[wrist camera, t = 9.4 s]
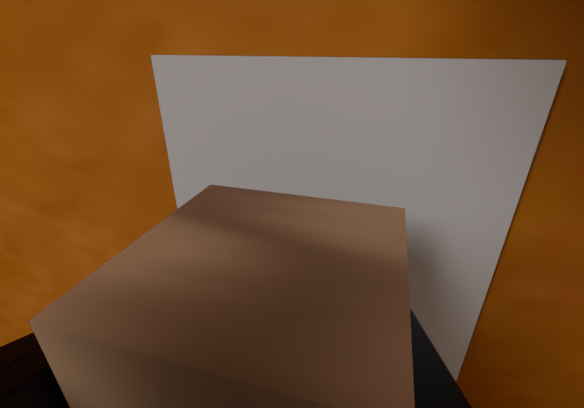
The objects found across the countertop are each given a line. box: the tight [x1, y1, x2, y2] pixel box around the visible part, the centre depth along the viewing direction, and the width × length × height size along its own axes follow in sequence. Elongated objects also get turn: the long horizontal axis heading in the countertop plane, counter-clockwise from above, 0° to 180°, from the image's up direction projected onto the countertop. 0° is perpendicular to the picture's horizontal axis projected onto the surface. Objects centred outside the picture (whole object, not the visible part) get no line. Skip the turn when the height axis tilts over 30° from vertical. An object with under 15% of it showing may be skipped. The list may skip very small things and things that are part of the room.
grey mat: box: [151, 55, 567, 381], centre depth 11 cm, size 11×11×1 cm
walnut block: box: [28, 184, 415, 408], centre depth 7 cm, size 5×5×5 cm
